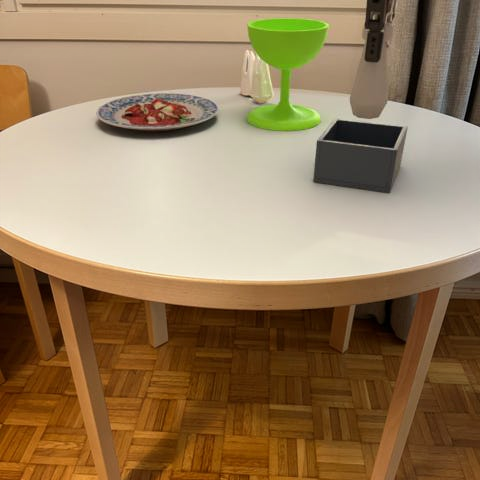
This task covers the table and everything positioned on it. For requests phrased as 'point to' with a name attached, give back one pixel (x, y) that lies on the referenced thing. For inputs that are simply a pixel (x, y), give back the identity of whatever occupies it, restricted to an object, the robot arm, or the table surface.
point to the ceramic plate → (157, 111)
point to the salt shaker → (371, 82)
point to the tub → (359, 154)
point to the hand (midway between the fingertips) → (375, 57)
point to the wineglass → (286, 67)
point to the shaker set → (256, 78)
